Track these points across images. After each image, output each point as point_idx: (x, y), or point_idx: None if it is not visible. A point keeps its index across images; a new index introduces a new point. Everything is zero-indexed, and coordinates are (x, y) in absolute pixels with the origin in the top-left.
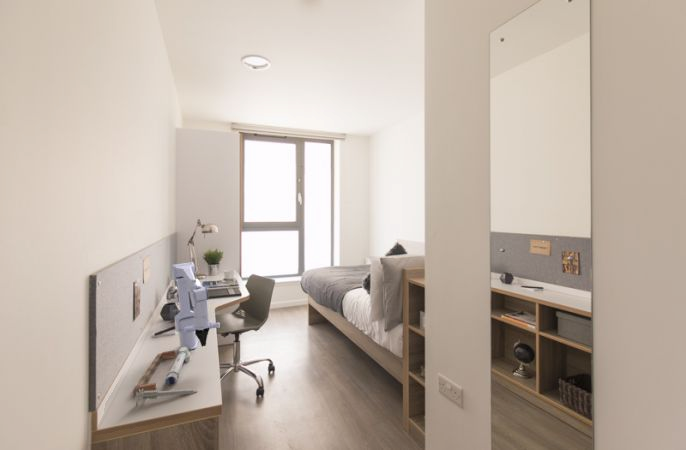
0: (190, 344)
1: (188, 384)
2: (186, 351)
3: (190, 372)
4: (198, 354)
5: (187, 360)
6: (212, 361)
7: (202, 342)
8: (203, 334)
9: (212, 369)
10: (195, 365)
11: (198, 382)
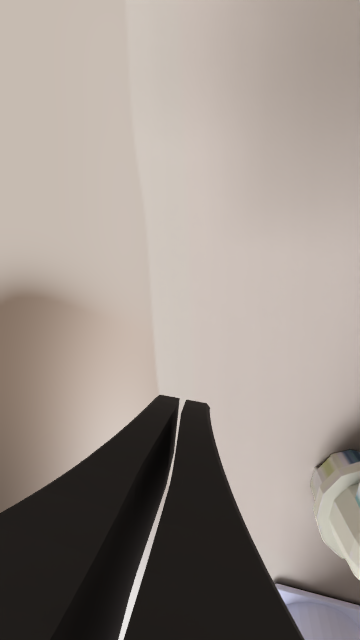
0: (306, 633)
1: (348, 30)
2: (358, 529)
3: (317, 273)
4: (255, 508)
5: (330, 461)
6: (166, 370)
7: (179, 433)
8: (13, 630)
9: (158, 244)
10: (277, 369)
11: (259, 37)
